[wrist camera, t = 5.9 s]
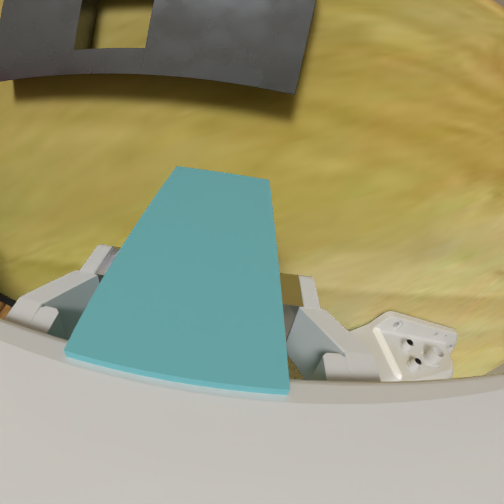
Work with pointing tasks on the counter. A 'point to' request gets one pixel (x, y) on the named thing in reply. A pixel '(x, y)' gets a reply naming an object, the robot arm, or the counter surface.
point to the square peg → (194, 290)
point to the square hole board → (162, 41)
